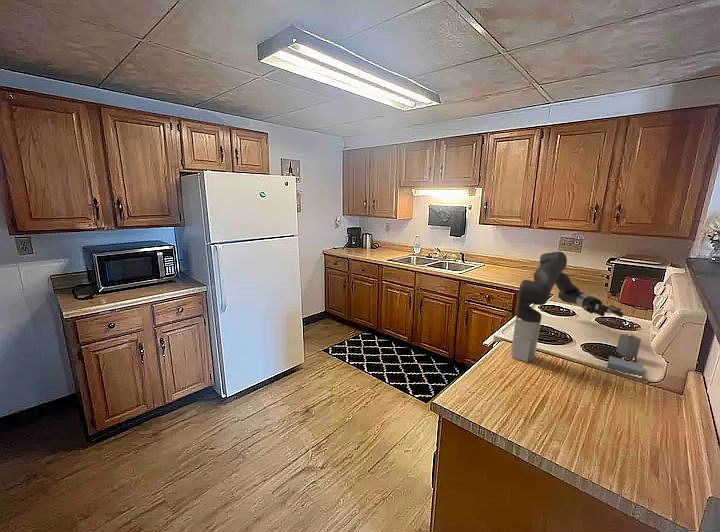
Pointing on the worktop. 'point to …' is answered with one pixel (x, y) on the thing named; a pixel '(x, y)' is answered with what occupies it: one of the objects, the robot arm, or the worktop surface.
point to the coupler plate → (625, 366)
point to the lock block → (628, 345)
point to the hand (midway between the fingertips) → (613, 314)
